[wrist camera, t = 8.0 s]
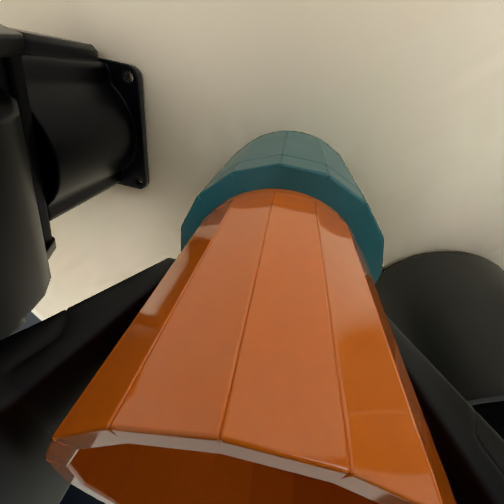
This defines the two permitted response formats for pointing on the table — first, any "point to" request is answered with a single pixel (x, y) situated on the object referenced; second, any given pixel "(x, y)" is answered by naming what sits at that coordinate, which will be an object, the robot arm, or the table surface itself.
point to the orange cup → (256, 377)
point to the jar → (293, 186)
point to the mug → (453, 322)
